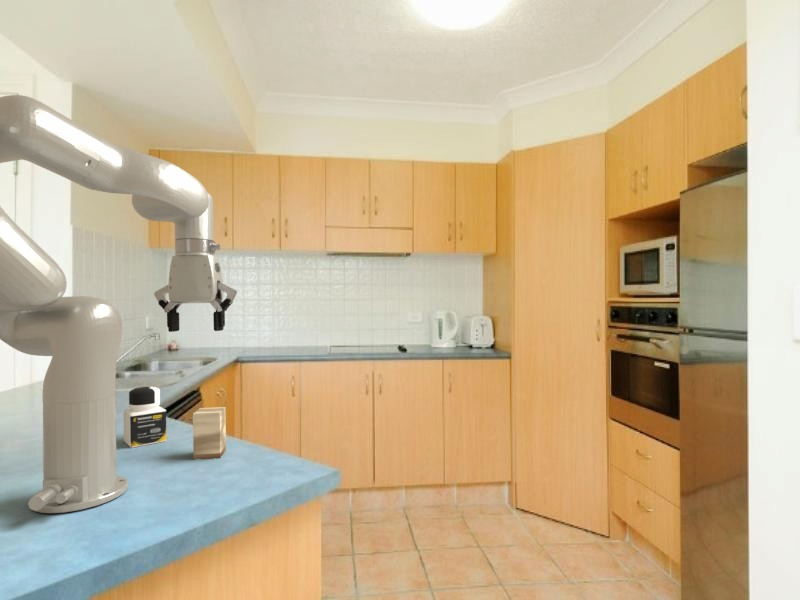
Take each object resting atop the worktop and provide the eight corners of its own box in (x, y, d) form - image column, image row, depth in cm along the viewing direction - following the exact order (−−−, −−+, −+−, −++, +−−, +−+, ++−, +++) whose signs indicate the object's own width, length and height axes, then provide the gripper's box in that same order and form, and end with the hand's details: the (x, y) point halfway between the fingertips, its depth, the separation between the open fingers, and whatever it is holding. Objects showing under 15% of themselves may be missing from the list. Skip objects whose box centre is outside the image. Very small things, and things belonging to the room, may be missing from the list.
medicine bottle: (130, 448, 98) (129, 392, 99) (123, 441, 104) (122, 387, 104) (166, 441, 103) (166, 387, 103) (158, 435, 108) (157, 383, 109)
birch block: (220, 458, 91) (219, 412, 91) (193, 459, 90) (192, 413, 90) (225, 450, 96) (225, 406, 96) (200, 451, 95) (200, 408, 95)
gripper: (242, 250, 101) (243, 329, 101) (164, 252, 102) (166, 330, 102) (227, 246, 93) (228, 331, 93) (144, 248, 94) (145, 332, 94)
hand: (196, 330), depth 98 cm, fingers open, 9 cm apart
